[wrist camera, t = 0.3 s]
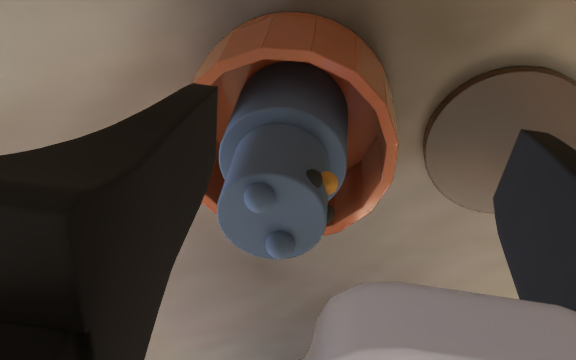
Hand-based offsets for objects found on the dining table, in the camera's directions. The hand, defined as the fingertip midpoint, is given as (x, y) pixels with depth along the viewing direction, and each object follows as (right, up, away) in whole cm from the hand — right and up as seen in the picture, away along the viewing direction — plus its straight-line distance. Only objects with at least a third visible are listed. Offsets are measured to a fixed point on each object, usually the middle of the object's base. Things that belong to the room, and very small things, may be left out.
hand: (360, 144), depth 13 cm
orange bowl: (-1, +2, +11) cm, 11 cm away
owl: (-2, +2, +10) cm, 11 cm away
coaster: (+8, +1, +11) cm, 13 cm away
